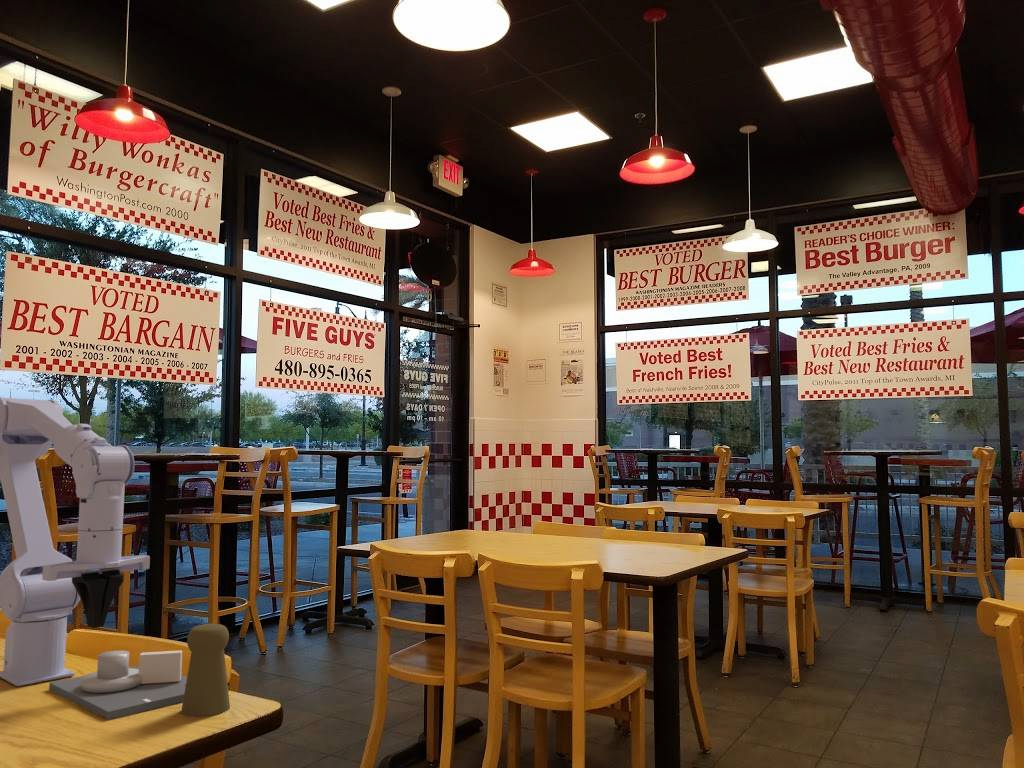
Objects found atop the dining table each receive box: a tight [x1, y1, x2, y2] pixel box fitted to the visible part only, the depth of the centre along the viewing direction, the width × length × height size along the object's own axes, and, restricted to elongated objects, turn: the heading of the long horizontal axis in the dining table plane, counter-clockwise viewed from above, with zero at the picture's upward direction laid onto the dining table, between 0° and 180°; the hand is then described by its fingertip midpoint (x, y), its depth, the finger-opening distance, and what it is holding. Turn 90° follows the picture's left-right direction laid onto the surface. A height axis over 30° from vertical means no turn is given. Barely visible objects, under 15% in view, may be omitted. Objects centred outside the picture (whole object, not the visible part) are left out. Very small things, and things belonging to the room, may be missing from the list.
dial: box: [80, 649, 183, 693], centre depth 114 cm, size 13×8×4 cm, turn 105°
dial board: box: [48, 664, 187, 721], centre depth 113 cm, size 20×14×1 cm
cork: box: [180, 623, 231, 718], centre depth 106 cm, size 6×6×11 cm
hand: (95, 626), depth 113 cm, fingers closed
